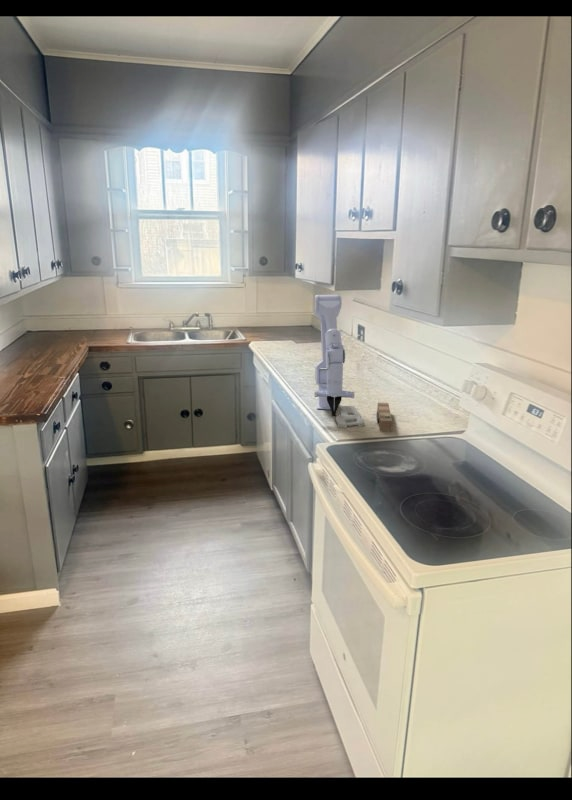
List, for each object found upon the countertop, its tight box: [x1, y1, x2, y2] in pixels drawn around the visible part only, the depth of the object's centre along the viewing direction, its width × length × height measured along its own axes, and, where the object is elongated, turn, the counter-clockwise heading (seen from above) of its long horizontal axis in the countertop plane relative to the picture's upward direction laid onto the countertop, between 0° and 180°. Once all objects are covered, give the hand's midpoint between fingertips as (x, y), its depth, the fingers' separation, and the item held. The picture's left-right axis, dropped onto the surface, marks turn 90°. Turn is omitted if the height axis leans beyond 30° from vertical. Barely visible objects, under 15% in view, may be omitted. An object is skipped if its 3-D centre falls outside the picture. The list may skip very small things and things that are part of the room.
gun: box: [335, 405, 365, 429], centre depth 195 cm, size 18×4×10 cm
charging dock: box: [376, 402, 393, 432], centre depth 192 cm, size 20×5×4 cm, turn 173°
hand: (333, 415), depth 195 cm, fingers closed
